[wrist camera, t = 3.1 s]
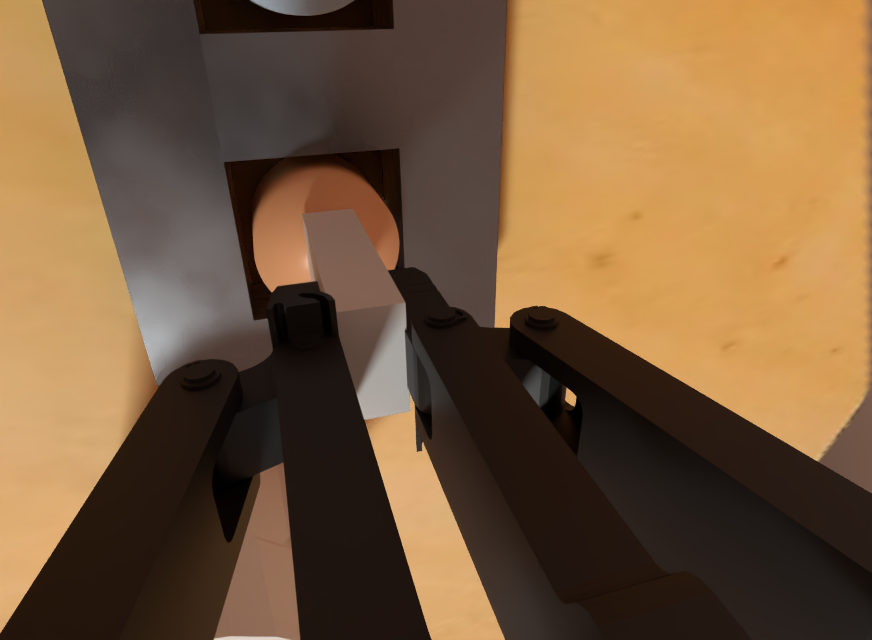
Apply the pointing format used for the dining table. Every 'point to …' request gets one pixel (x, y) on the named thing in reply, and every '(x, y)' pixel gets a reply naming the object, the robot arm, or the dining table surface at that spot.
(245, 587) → the cup
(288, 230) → the button orange
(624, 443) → the robot arm
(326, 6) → the button slate
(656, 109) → the dining table surface
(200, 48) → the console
